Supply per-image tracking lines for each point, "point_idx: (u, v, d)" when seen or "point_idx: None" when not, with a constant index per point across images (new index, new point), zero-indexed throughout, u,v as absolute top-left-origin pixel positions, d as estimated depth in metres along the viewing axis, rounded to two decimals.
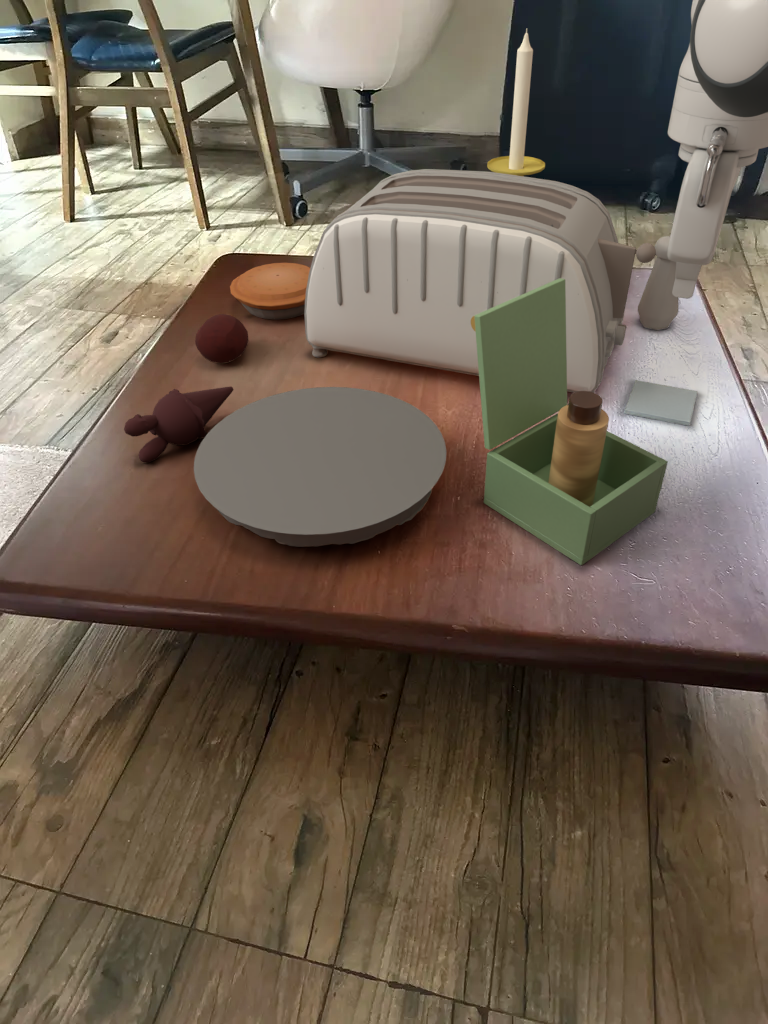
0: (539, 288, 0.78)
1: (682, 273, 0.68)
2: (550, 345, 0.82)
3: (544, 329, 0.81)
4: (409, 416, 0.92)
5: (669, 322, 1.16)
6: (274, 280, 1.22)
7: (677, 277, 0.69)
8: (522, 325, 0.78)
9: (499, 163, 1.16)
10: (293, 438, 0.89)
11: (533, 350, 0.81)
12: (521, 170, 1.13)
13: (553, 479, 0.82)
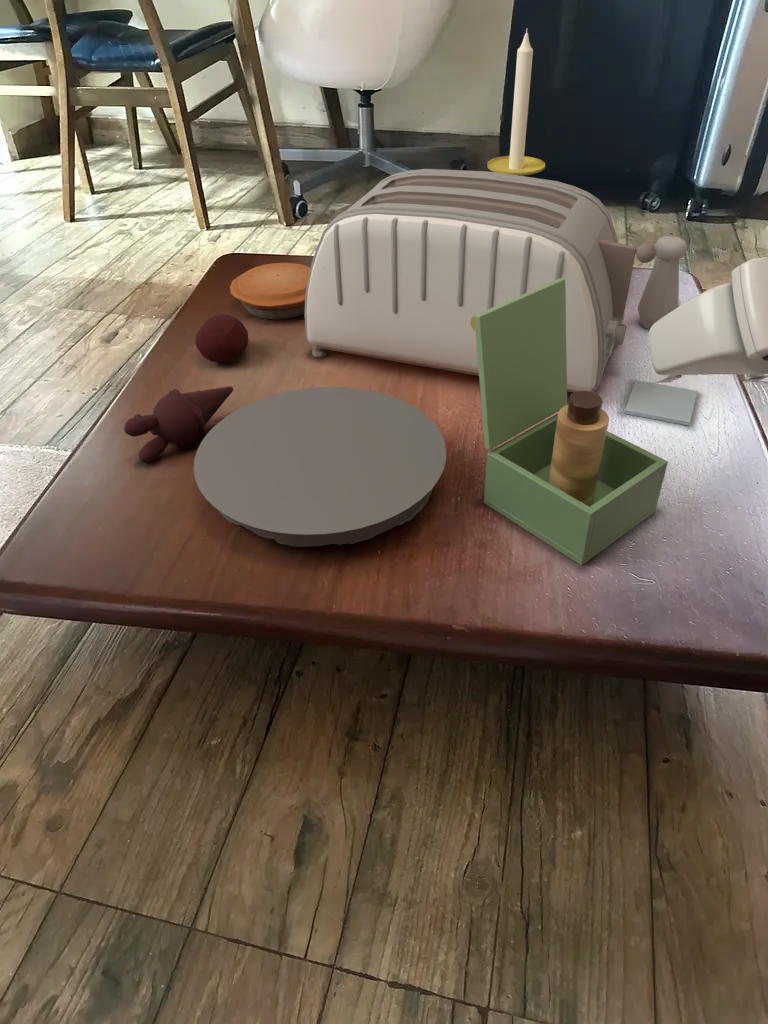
0: (539, 288, 0.78)
1: None
2: (550, 345, 0.82)
3: (544, 329, 0.81)
4: (409, 416, 0.92)
5: None
6: (274, 280, 1.22)
7: None
8: (522, 325, 0.78)
9: (499, 163, 1.16)
10: (293, 438, 0.89)
11: (533, 350, 0.81)
12: (521, 170, 1.13)
13: (553, 479, 0.82)
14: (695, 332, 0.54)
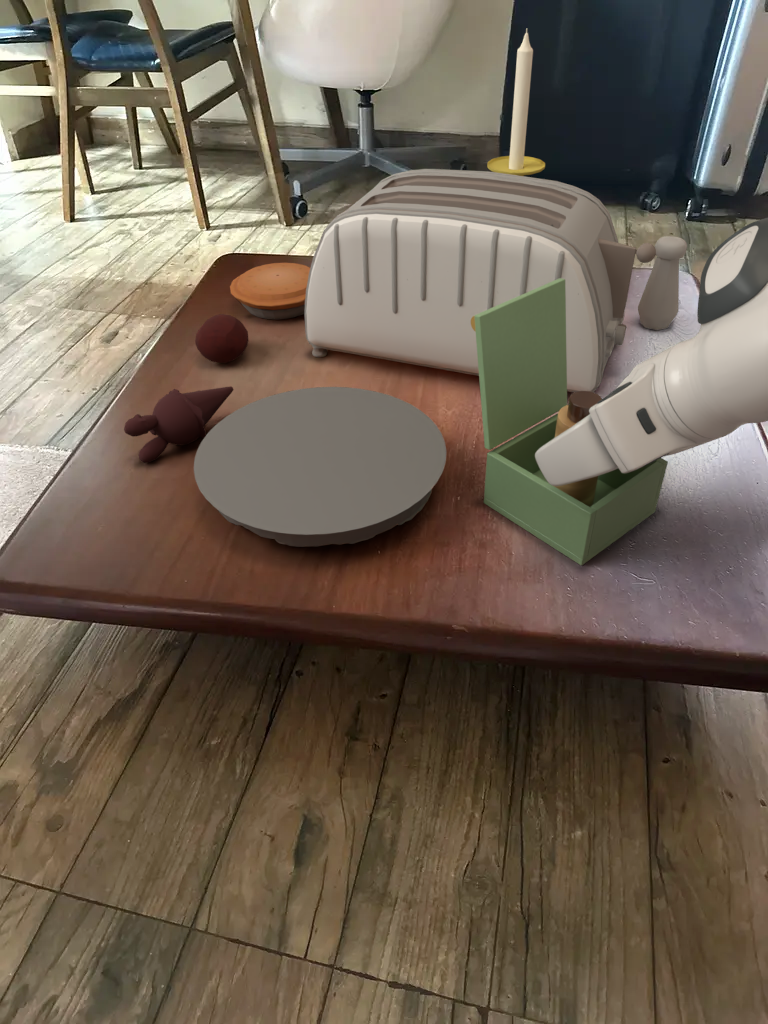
0: (539, 288, 0.78)
1: None
2: (550, 345, 0.82)
3: (544, 329, 0.81)
4: (409, 416, 0.92)
5: (669, 322, 1.16)
6: (274, 280, 1.22)
7: None
8: (522, 325, 0.78)
9: (499, 163, 1.16)
10: (293, 438, 0.89)
11: (533, 350, 0.81)
12: (521, 170, 1.13)
13: None
14: (575, 459, 0.68)
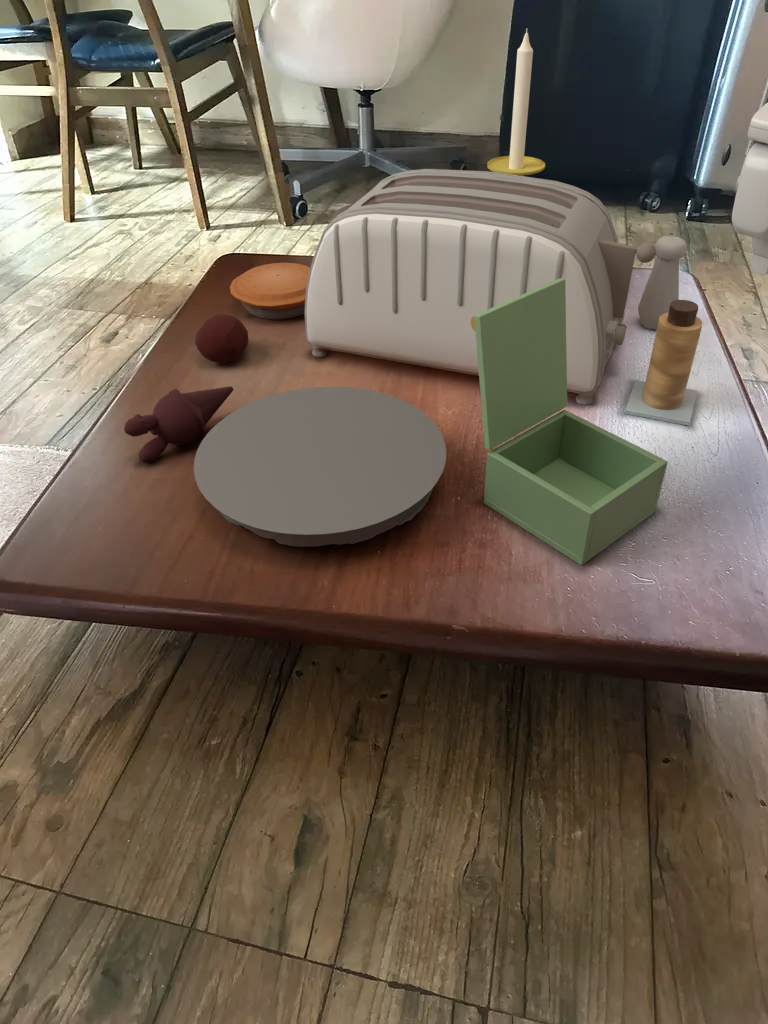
0: (539, 288, 0.78)
1: None
2: (550, 345, 0.82)
3: (544, 329, 0.81)
4: (409, 416, 0.92)
5: None
6: (274, 280, 1.22)
7: None
8: (522, 325, 0.78)
9: (499, 163, 1.16)
10: (293, 438, 0.89)
11: (533, 350, 0.81)
12: (521, 170, 1.13)
13: (652, 377, 0.98)
14: (765, 181, 0.67)
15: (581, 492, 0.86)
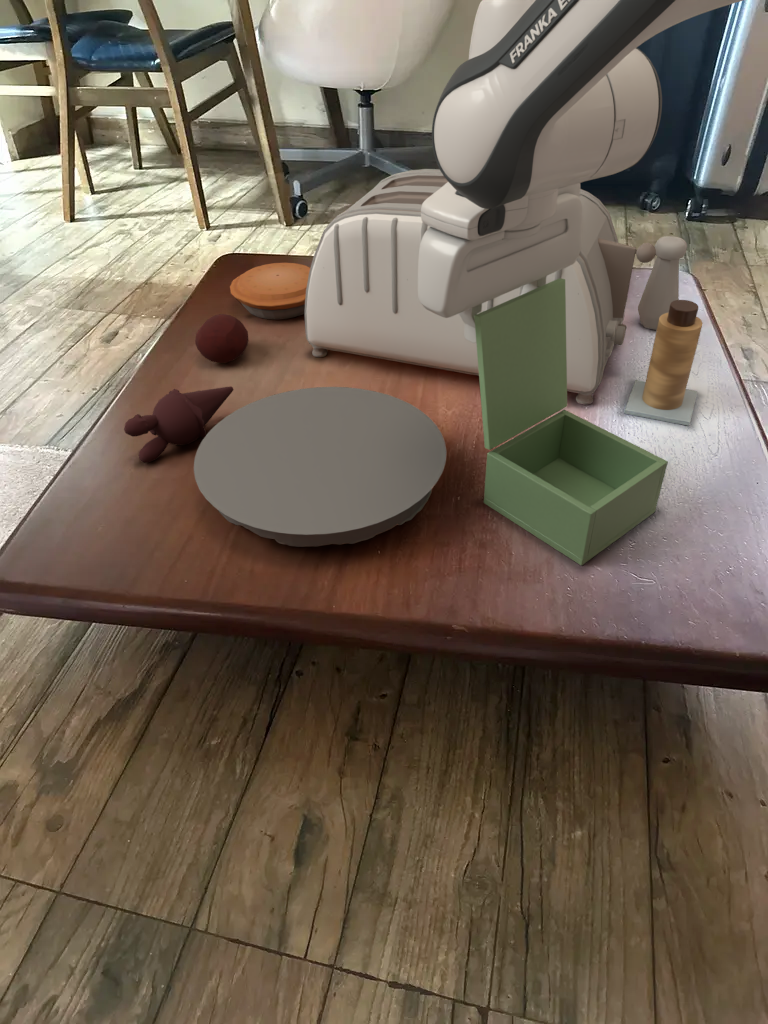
0: (539, 288, 0.79)
1: None
2: (550, 345, 0.82)
3: (544, 329, 0.81)
4: (409, 416, 0.92)
5: None
6: (274, 280, 1.22)
7: None
8: (522, 325, 0.78)
9: None
10: (293, 438, 0.89)
11: (533, 350, 0.81)
12: None
13: (652, 377, 0.98)
14: (435, 264, 0.70)
15: (581, 492, 0.86)
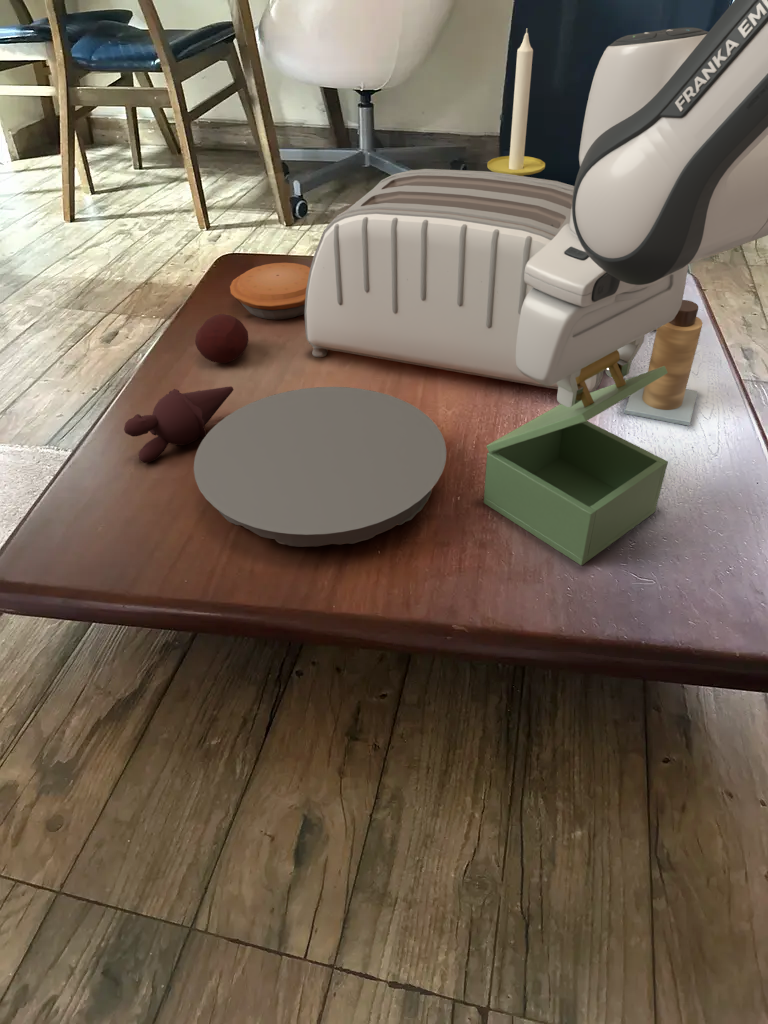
0: (644, 383, 0.74)
1: None
2: None
3: None
4: (409, 416, 0.92)
5: None
6: (274, 280, 1.22)
7: None
8: None
9: (499, 163, 1.16)
10: (293, 438, 0.89)
11: None
12: (521, 170, 1.13)
13: None
14: (540, 330, 0.64)
15: (581, 492, 0.86)
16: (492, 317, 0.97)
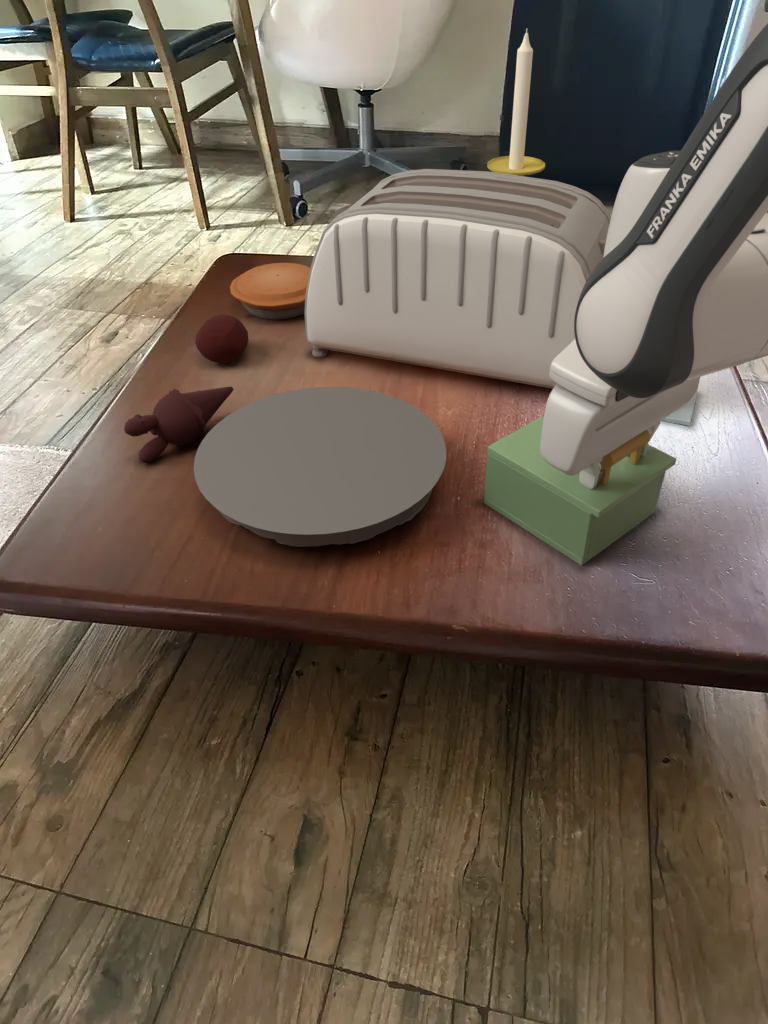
0: (654, 476, 0.78)
1: None
2: None
3: None
4: (409, 416, 0.92)
5: None
6: (274, 280, 1.22)
7: None
8: None
9: (499, 163, 1.16)
10: (293, 438, 0.89)
11: None
12: (521, 170, 1.13)
13: None
14: (564, 426, 0.67)
15: None
16: (492, 317, 0.97)
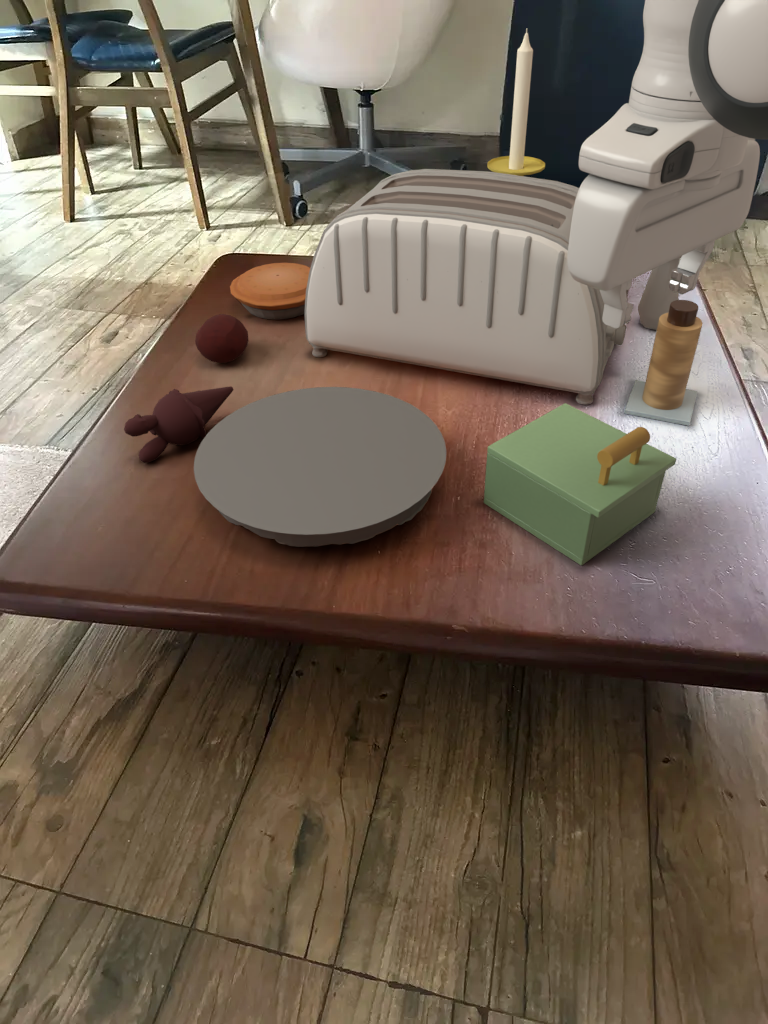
0: (654, 476, 0.78)
1: None
2: None
3: None
4: (409, 416, 0.92)
5: None
6: (274, 280, 1.22)
7: None
8: None
9: (499, 163, 1.16)
10: (293, 438, 0.89)
11: None
12: (521, 170, 1.13)
13: (652, 377, 0.98)
14: (598, 222, 0.56)
15: None
16: (492, 317, 0.97)
